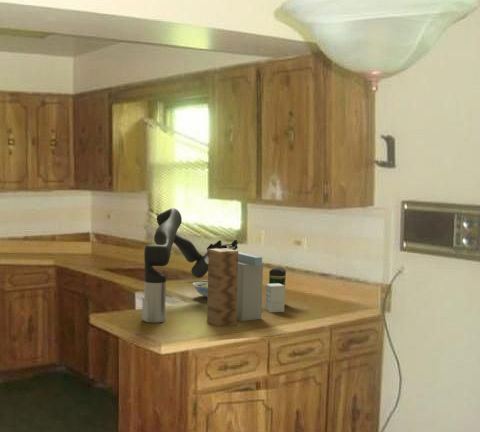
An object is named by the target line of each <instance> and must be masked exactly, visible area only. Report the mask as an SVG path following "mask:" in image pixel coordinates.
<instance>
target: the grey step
mask: <svg viewBox="0 0 480 432" xmlns="http://www.w3.org/2000/svg"><path fill="white" fill-rule="evenodd" d="M263 274H264V263H262V265H258V266H254V265H251V264H247V263H243V262H239V261H238V279H237V315H236V320H239V321H243V322H244V321H253V320H261V319H262V309H263V307H262V306H263V277H264V276H263Z"/></svg>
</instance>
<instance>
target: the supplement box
mask: <svg viewBox="0 0 480 432" xmlns="http://www.w3.org/2000/svg"><path fill="white" fill-rule="evenodd" d="M264 295H265V297H264V299H265V300H264V310H266V311H267V312H269V313H284V312H285V301H286V300H285V299H286V285H285V286H284V285H282V284H280V283H276V284H269V283H265V293H264Z"/></svg>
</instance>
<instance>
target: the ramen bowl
mask: <svg viewBox="0 0 480 432" xmlns="http://www.w3.org/2000/svg"><path fill="white" fill-rule="evenodd" d="M187 283H191V281H189V282H188V281H187ZM192 286H193V287H194V289H195V291H196V292H197V293H198V294H199V295H201V296H203V297H206V298H207V299H208V279H207V280H198V281H197V280H196V281H193V282H192Z"/></svg>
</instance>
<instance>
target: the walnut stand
mask: <svg viewBox="0 0 480 432" xmlns="http://www.w3.org/2000/svg"><path fill="white" fill-rule="evenodd" d="M238 252H239V250H237V249H236V250H232V249H229V248H228V247H227V248H223V249H209V260H208V271H207V280H208V298H207V303H206V304H207V305H206V306H207V307H206V308H207V309H206V323H207V324H208V323H209V324H211V325H213V326H215V327H226V326H227V327H228V326H237V319H236V315H237V279H238Z"/></svg>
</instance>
